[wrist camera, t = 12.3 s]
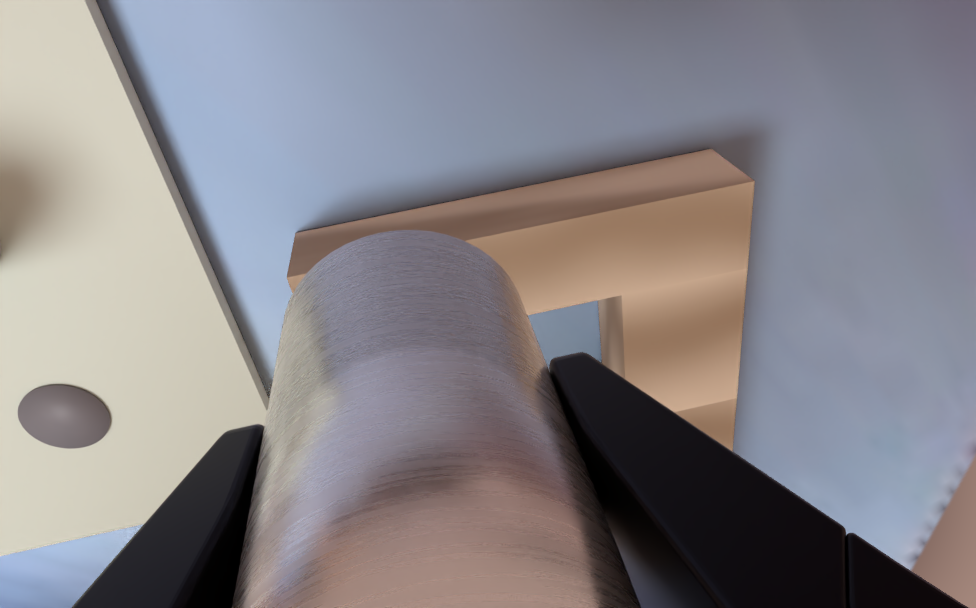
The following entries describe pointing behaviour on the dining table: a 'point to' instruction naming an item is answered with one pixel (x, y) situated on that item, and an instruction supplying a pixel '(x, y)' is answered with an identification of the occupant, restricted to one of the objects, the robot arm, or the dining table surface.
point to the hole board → (616, 267)
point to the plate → (98, 294)
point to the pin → (420, 446)
